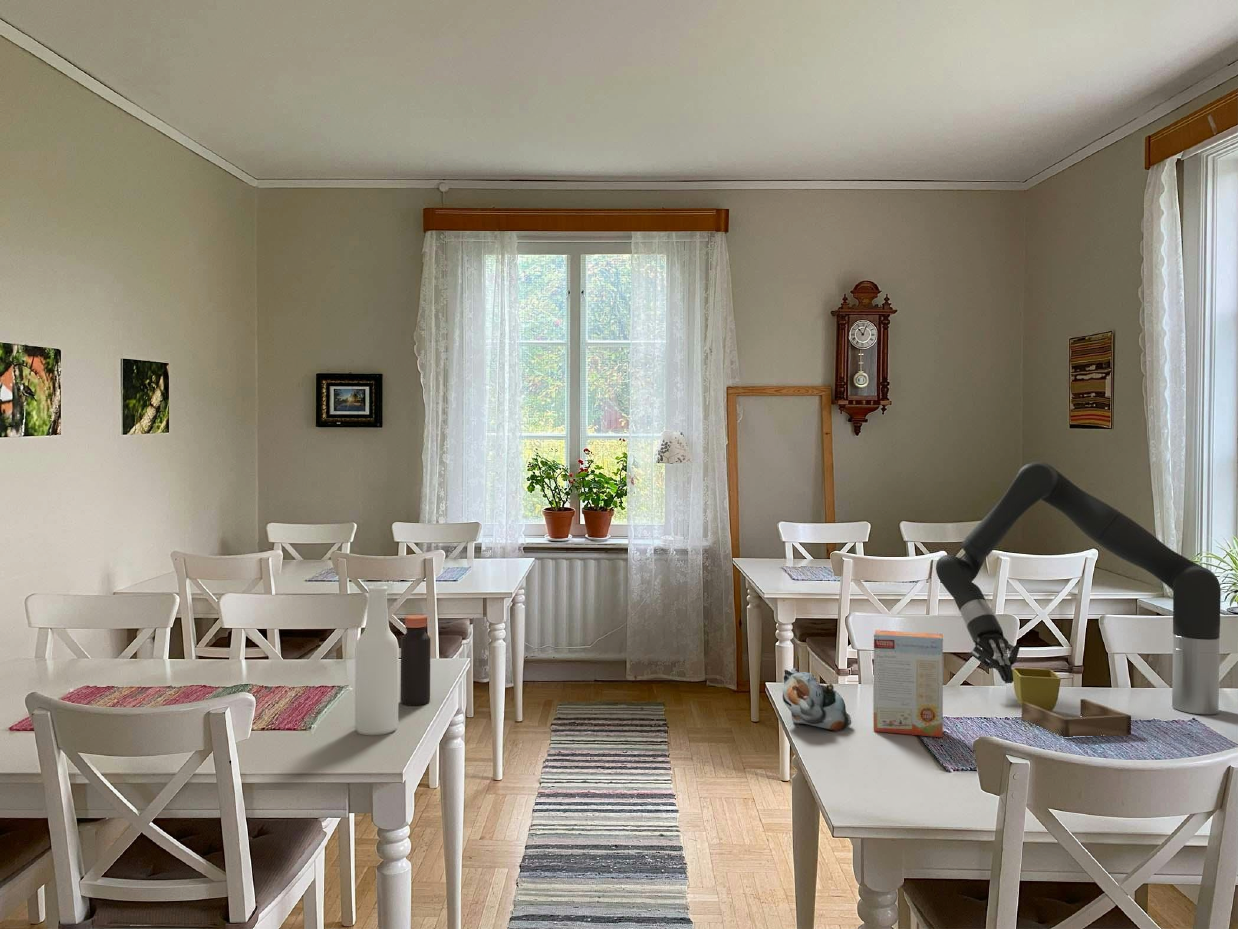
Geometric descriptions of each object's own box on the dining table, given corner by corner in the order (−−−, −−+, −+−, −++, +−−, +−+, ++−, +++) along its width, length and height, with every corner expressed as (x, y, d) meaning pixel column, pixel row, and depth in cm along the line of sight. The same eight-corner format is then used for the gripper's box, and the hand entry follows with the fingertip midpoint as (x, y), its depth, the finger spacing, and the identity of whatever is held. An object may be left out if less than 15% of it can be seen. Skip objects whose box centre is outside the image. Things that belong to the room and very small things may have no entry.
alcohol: (384, 721, 200) (385, 582, 200) (406, 730, 193) (407, 587, 193) (346, 729, 194) (348, 586, 193) (368, 738, 187) (369, 591, 187)
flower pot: (1061, 718, 208) (1061, 678, 208) (1019, 715, 209) (1020, 675, 209) (1050, 707, 216) (1051, 669, 216) (1011, 705, 218) (1011, 667, 218)
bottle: (426, 706, 212) (427, 619, 212) (397, 706, 212) (397, 619, 212) (432, 698, 219) (433, 614, 219) (404, 698, 219) (405, 614, 219)
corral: (1021, 720, 205) (1021, 702, 205) (1084, 716, 209) (1084, 699, 209) (1064, 739, 192) (1065, 719, 192) (1131, 734, 195) (1131, 715, 195)
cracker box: (942, 731, 197) (943, 632, 196) (942, 739, 191) (943, 637, 191) (874, 724, 201) (875, 628, 201) (872, 732, 195) (873, 633, 195)
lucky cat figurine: (857, 733, 194) (834, 679, 190) (803, 752, 196) (779, 699, 192) (841, 695, 208) (820, 644, 205) (791, 713, 210) (769, 663, 206)
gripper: (963, 613, 230) (992, 674, 218) (1010, 612, 233) (1042, 672, 221) (951, 631, 235) (979, 691, 223) (997, 629, 238) (1027, 688, 226)
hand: (1010, 681), depth 222 cm, fingers closed
